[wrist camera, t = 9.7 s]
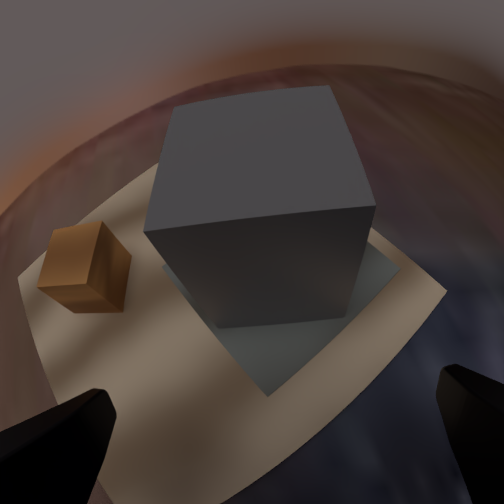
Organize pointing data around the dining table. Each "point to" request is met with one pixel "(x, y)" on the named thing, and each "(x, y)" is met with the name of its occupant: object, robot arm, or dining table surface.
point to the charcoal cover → (262, 206)
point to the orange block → (86, 269)
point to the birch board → (215, 366)
